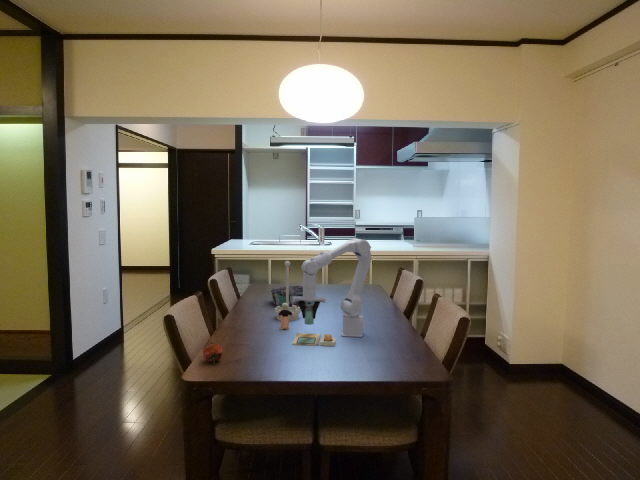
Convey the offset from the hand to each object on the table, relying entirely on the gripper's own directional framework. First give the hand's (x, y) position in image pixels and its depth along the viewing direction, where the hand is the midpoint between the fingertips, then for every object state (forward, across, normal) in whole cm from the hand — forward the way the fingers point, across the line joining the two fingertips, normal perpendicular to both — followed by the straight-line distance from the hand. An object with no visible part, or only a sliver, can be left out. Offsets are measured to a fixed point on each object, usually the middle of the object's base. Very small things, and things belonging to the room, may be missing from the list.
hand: (309, 318), depth 190 cm
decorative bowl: (+10, +17, -64) cm, 67 cm away
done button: (+8, -9, +5) cm, 13 cm away
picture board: (+10, +1, +1) cm, 10 cm away
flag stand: (+10, +15, -33) cm, 37 cm away
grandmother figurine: (+10, +13, -14) cm, 21 cm away
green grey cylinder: (+2, 0, 0) cm, 3 cm away
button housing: (+10, -9, +5) cm, 14 cm away
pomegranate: (+10, +33, +31) cm, 46 cm away
